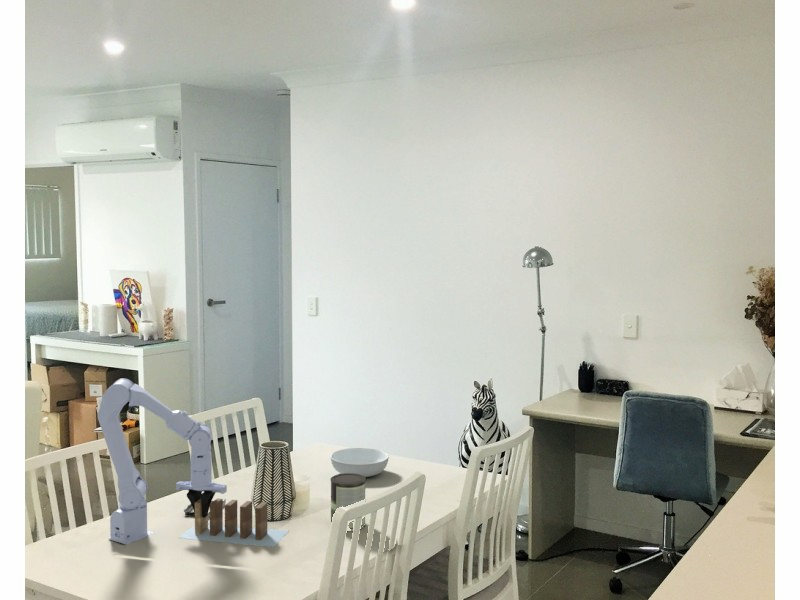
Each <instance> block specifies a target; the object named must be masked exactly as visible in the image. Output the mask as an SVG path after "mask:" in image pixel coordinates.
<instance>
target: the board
mask: <svg viewBox="0 0 800 600" xmlns="http://www.w3.org/2000/svg"><path fill="white" fill-rule="evenodd" d="M289 531H290V530H283V529H282V530H281V529H275V528H274V529H271V528H267V535H266V536H265V537H264V538H263V539H262V540H255V527H252V533H251V534H250V535H249V536H248V537H247V538H246V539H241V538H240V525H237V532H236V533H235V534H234V535H232V536H231V537H225V524H223V530H222V531H221V532H219V533H218V534H217V535H216V536H210V523H208V529H207V530H205V531H204V532H203V533H202V534H201V535H199V534H195V524H194V525H193V526H192V527H190V528H189V529H188V530H187V531H185V532H184V533H183V534H181V535H179V537H178V539H186V540H187V539H188V540H196V541H207V542H216V543H217V542H218V543H227V544H239V545H249V546H250V545H251V546H259V547H261V546H262V547H270V548H275V547H276V546H277V545H278V543H279V542H280V541H281V540H283V538H284V537H285V536H286V535H287V534H288V533H289Z"/></svg>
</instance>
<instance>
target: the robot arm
mask: <svg viewBox="0 0 800 600" xmlns="http://www.w3.org/2000/svg"><path fill="white" fill-rule="evenodd" d="M128 402H129V404H128V406H129V407H137V406H139V407H142V408H144V409H146V410H147V411H149V412H151V413H153V414H154V415H155V416H157V417H159V418H161V419H162V420H163V421H165V425H166V428H167V429H169V430H171V432H173V433H175V434H177V435H178V436H179V437H180V438H182V439H184V440H186V441H188V443H189V446H190V447H191V451H190V481H178V482H176V483H175V490H176V491H188V492H187V493H186V498H187V499H188V501H189V502H190V504H191V505H192V507H193V508H192V510H193V512H194V514H195V502H197V501H198V500H199V499H201V502H202V517H203V518H205V517H206V516H208V513H209V512H210V503H211V501H213V499H214V496H215V494H216V493H220V494H221V495H222V494H223V495H224V494H226V493H227V488H228V487H227V484H221V483H217V482H213V481H212V478H213V477H212V469H213V467H212V451H211V450H212V446H211V443H212V437H213V431H212V430H211V428H210V427H209V426H208V425H207V424H204V423H203V424H202V422H201V421H196V420H195V419H193V418H192V417H191V416H189V415H188V414H189V413H188V412H187V411H186V410H183V411H182V410H180V409H178V410H172V409H171V408H170V407H168V406H167V405H165V404H164V403H163V402H162V401H160V400H159V399H158V398H157V397H155V396H154V395H152V394H151V393H149V392H148V391H147V390H146V389H144V388H143V387H141V386H140V384H137V383H134V382H133V381H132V380H130V379H128V378H119V379H117V380H116V381H114V383H112V384H111V385H110V386H109V387H108V388H107V389H106V390H105V392H104V393H103V394H102V395H101V401H100V406H99V409H98V413H97V421H98V422H99V425H100V428H101V432H102V434H103V438H104V441H105V444H106V446H107V449H108V452H109V455H110V457H111V461H112V464H113V466H114V470H115V473H116V476H117V488H118V491H119V492H118V493H119V494H118V502H119V507H118V508H117V509H116V510H115V511H113V512H112V513H111V515H110V520H109V521H110V524H109V525H110V528H109V529H110V536H108V540H110V541H114V542H116V543H119V544H120V543H121V544H124V545H128V544H131V543H133V542H136V541H138V540H141V539H143V538H146V537H149V536H151V535H153V534H155V532H153V531H150V530H148V501H147V500H146V498H145V495H146V494H147V492H148V483H147V482H146V481H145V479H143V478H142V477H141V476H142V475H141V474H140V471H139V470H138V469H137V468H136V466H135V463H134V459H133V457H132V454H131V452H130V448H129V445H128V442H127V439H126V436H125V433H124V430H123V427H122V425H121V421H120V418H119V414H120V413H121V411H122V409H123V408H124V406H125V405H127V403H128Z"/></svg>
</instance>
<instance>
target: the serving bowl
mask: <svg viewBox="0 0 800 600" xmlns="http://www.w3.org/2000/svg"><path fill="white" fill-rule="evenodd" d="M389 459H390V457H389V454H388V453H387V452H386V451H384V450H380V449H377V448H370V447H351V448H344V449H339V450H336V451H333V452H332V453H331V454H330V461H331V464H332V467H333V469H335V471H336V472H338V473H339V474H344V473H353V474H360V475H362V476H364V477H365V478H368V477H373V476H376V475H378V474H380V473H382V472H383V471H384V470H385V469H386V467H387V465H388V462H389Z"/></svg>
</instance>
